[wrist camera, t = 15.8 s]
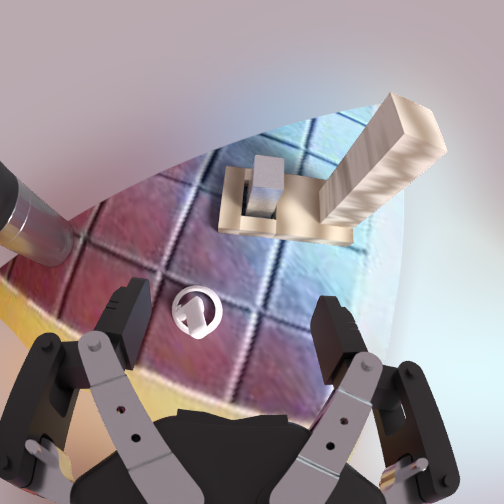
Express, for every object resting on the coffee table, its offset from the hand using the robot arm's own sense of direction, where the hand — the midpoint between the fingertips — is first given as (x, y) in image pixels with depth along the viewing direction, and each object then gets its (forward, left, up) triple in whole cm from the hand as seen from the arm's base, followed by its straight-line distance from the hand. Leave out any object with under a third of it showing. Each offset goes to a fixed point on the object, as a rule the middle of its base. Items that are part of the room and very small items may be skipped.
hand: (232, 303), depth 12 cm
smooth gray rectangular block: (+4, +19, -29) cm, 34 cm away
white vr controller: (-4, +1, -29) cm, 29 cm away
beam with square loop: (+9, +19, -29) cm, 35 cm away
